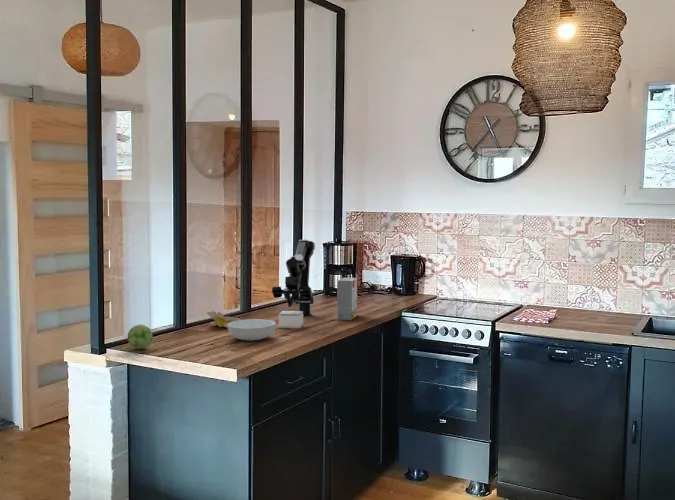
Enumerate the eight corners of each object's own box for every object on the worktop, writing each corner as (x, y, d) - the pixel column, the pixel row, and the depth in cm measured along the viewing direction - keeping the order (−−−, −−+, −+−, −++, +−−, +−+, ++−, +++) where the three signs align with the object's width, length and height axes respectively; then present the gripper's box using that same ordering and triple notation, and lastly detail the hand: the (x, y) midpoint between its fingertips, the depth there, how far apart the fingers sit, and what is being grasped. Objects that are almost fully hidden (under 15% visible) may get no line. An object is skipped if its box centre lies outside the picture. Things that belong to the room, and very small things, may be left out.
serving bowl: (223, 336, 304) (223, 320, 304) (269, 332, 312) (268, 317, 311) (233, 345, 285) (232, 329, 284) (281, 341, 292) (281, 325, 292)
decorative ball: (122, 349, 277) (122, 325, 276) (142, 345, 285) (141, 321, 284) (139, 353, 271) (138, 328, 270) (158, 348, 279) (157, 324, 279)
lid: (282, 312, 330) (282, 310, 330) (303, 312, 328) (303, 311, 328) (278, 315, 322) (278, 313, 322) (299, 315, 321) (299, 314, 320)
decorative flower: (246, 322, 326) (241, 303, 324) (229, 331, 318) (224, 311, 316) (225, 321, 336) (220, 302, 334) (208, 330, 327) (203, 310, 325)
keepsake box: (282, 324, 330) (282, 312, 330) (303, 325, 329) (303, 313, 328) (279, 327, 322) (278, 315, 322) (299, 328, 321) (299, 315, 321)
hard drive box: (351, 320, 341) (351, 281, 340) (336, 320, 343) (336, 280, 341) (357, 315, 357) (357, 277, 355) (342, 314, 358) (342, 277, 357)
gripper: (272, 269, 327) (266, 295, 317) (310, 270, 324) (306, 296, 314) (276, 283, 335) (271, 309, 325) (314, 284, 333) (309, 310, 322)
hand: (289, 306), depth 322 cm, fingers closed
